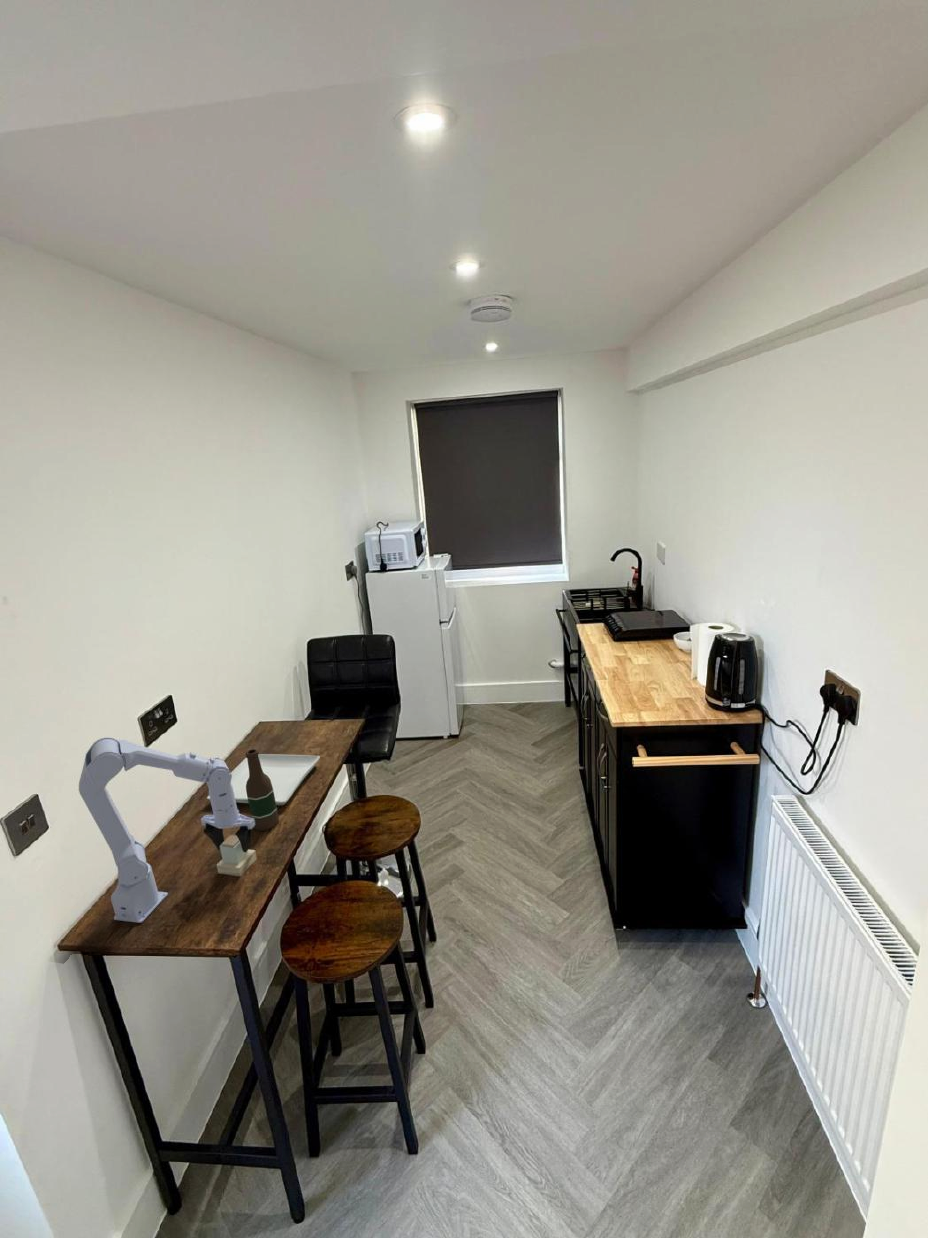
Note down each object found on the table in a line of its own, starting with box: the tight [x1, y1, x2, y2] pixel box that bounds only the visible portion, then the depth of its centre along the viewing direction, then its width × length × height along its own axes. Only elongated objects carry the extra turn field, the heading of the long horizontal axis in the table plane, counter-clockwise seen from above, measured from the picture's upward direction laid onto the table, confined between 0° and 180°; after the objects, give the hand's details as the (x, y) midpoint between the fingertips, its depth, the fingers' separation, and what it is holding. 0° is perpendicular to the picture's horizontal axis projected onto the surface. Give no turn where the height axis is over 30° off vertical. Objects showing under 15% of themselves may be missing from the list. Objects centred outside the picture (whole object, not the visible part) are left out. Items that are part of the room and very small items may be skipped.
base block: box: [216, 848, 258, 877], centre depth 157 cm, size 7×7×3 cm
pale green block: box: [219, 834, 248, 864], centre depth 155 cm, size 4×4×6 cm
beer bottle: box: [245, 748, 280, 832], centre depth 171 cm, size 8×8×24 cm
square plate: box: [206, 753, 321, 806], centre depth 195 cm, size 27×27×4 cm
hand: (234, 848), depth 155 cm, fingers open, 7 cm apart
